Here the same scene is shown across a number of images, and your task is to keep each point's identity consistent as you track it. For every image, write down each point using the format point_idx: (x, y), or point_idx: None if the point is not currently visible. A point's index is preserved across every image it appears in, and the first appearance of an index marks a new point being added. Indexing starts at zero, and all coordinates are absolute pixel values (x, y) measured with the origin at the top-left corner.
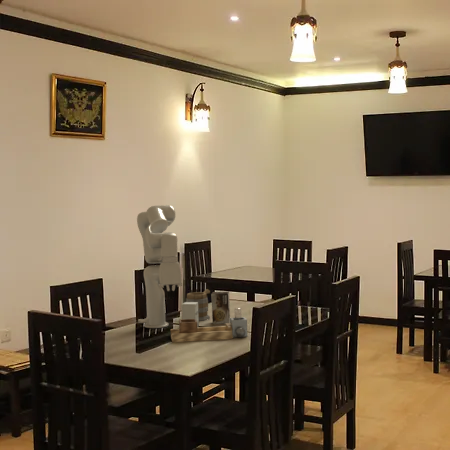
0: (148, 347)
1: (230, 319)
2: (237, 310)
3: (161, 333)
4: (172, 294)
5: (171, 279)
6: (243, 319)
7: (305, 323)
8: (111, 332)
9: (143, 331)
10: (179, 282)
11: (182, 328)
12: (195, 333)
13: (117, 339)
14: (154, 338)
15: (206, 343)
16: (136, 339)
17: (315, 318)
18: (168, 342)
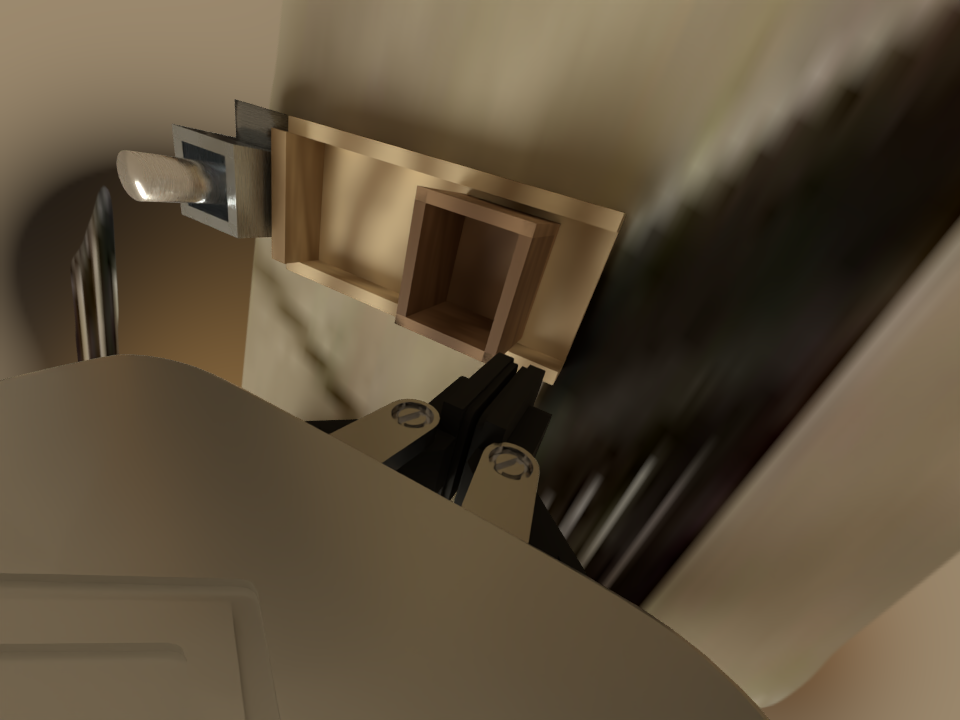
0: (904, 105)
1: (244, 227)
2: (146, 155)
3: (568, 467)
4: (477, 378)
5: (174, 605)
6: (185, 139)
7: (104, 270)
8: (784, 672)
9: (622, 565)
10: (129, 362)
11: (532, 219)
12: (473, 169)
13: (899, 517)
14: (664, 385)
15: (465, 52)
16: (781, 433)
17: (89, 323)
18: (652, 218)
